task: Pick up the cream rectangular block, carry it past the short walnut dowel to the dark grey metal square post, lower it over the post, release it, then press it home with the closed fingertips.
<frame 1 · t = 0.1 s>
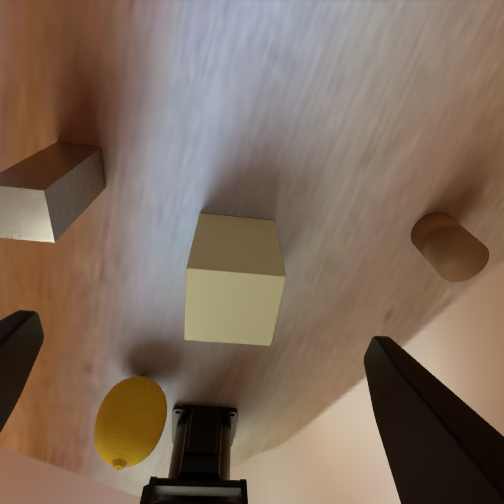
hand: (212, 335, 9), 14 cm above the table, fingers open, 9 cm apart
lemon: (144, 375, 32), on the table
cream rectangular block: (233, 249, 24), on the table
dowel: (432, 231, 24), on the table
post: (81, 166, 21), on the table
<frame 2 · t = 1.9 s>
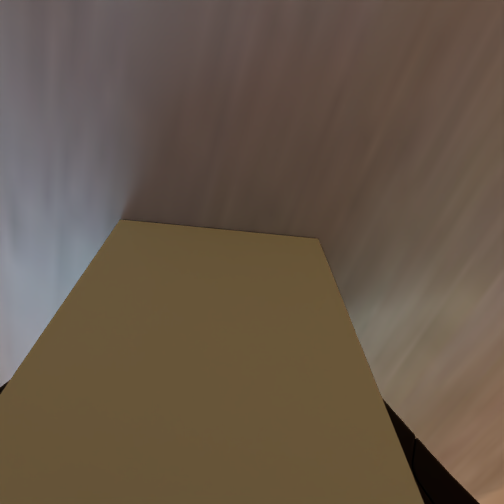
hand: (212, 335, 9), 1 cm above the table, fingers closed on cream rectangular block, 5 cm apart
cream rectangular block: (215, 305, 10), on the table, touching gripper
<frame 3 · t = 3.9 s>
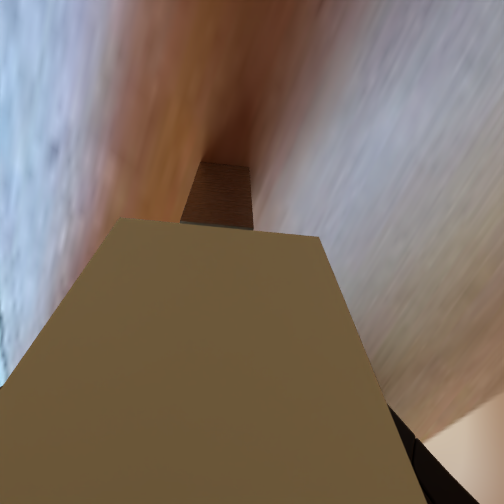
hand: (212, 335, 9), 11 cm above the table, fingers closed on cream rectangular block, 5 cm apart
cream rectangular block: (215, 303, 10), point 10 cm above the table, touching gripper
post: (223, 188, 19), on the table
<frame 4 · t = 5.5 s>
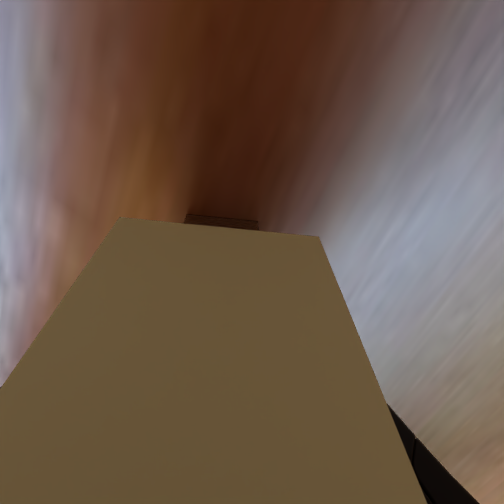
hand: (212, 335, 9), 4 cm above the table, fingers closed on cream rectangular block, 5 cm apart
cream rectangular block: (215, 303, 10), point 3 cm above the table, touching gripper
post: (219, 248, 13), on the table
when the fingers open (4 cm above the table, at t = 6.2 s): cream rectangular block drops 2 cm, resting on post.
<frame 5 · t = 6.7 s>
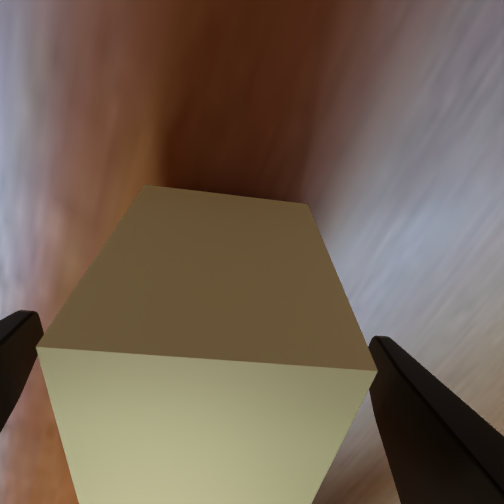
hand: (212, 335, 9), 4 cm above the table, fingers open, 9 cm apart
cream rectangular block: (220, 262, 12), point 1 cm above the table, touching post
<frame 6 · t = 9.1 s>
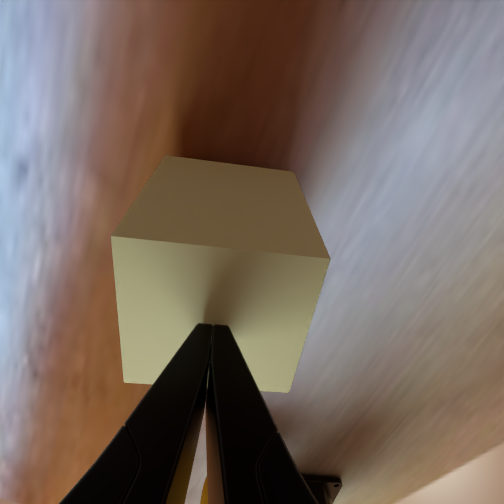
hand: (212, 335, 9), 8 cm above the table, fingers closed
cream rectangular block: (224, 221, 15), point 1 cm above the table, touching post
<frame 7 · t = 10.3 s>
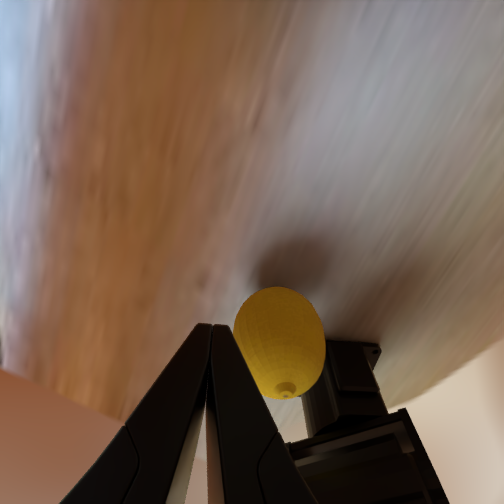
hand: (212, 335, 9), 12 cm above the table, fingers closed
lemon: (272, 294, 24), on the table
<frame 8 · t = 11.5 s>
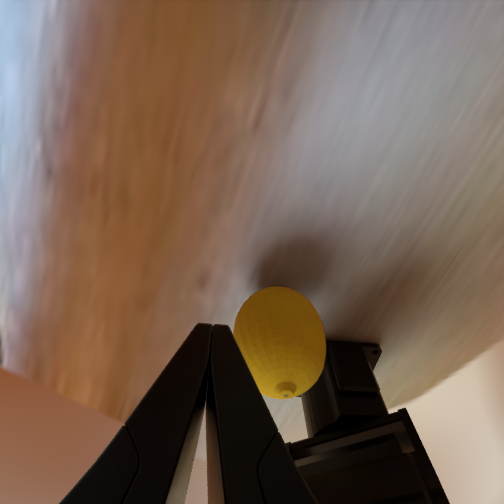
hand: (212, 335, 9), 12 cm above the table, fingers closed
lemon: (273, 294, 24), on the table
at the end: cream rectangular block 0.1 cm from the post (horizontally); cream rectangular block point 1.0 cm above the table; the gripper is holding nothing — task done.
